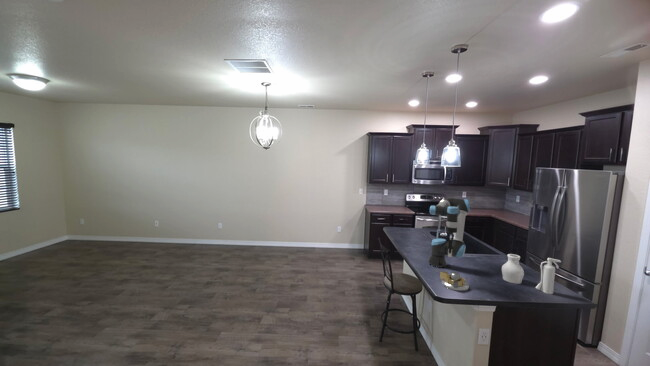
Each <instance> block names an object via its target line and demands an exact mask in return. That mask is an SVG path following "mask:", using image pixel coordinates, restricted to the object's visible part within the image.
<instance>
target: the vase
mask: <svg viewBox="0 0 650 366" xmlns="http://www.w3.org/2000/svg"><path fill="white" fill-rule="evenodd" d="M520 259H521V256H520V255H518V254H514V253H508V254H507V261H506V262H505V263H504V264H502V265H501V273H502V279H503V281H505V282H507V283H510V284H516V285H521V284H522V281H523V279H524V275H525V271H524V268H523V267H522V266H521V265H520Z"/></svg>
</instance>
